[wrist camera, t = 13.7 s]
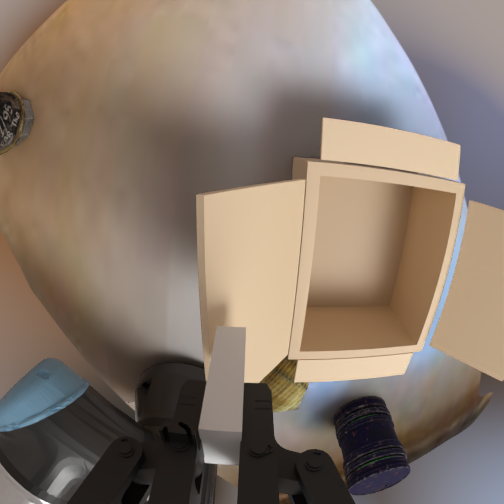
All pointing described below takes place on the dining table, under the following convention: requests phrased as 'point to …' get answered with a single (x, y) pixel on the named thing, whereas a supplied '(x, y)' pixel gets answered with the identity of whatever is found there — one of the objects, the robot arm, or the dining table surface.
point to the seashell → (285, 386)
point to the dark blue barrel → (369, 446)
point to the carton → (371, 249)
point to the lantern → (14, 120)
